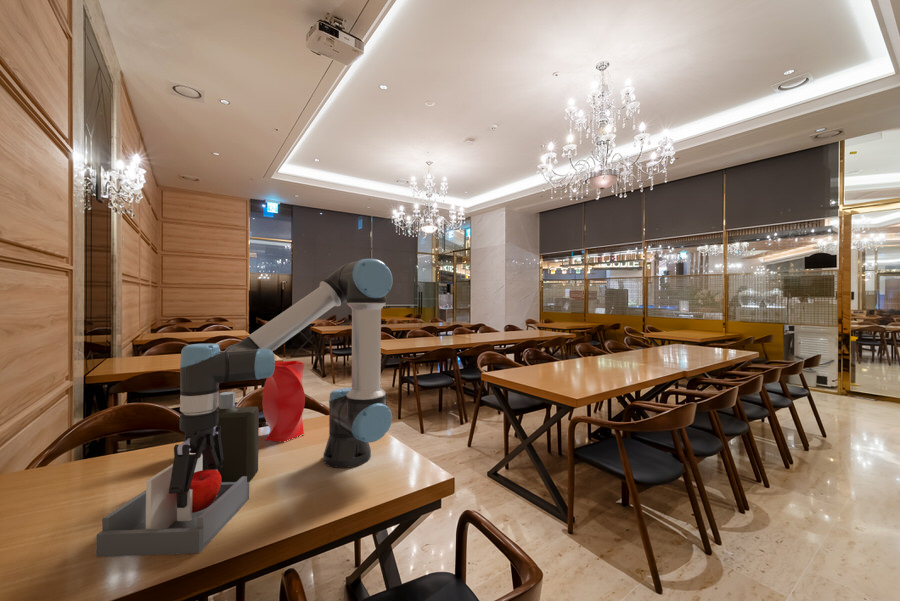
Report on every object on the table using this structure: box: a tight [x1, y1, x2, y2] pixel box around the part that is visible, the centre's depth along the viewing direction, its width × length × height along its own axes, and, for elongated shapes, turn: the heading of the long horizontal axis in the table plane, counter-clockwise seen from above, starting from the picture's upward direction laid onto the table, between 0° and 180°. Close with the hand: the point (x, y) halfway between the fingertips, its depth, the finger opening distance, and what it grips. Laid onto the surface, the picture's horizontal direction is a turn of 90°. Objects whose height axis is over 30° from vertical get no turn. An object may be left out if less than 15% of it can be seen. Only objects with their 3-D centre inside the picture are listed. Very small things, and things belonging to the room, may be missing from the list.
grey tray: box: [95, 476, 250, 557], centre depth 85 cm, size 20×21×7 cm
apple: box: [176, 470, 222, 513], centre depth 85 cm, size 9×9×8 cm
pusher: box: [145, 452, 203, 529], centre depth 85 cm, size 6×17×13 cm, turn 3°
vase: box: [261, 360, 306, 443], centre depth 142 cm, size 15×14×28 cm
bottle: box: [203, 391, 260, 483], centre depth 107 cm, size 8×16×25 cm, turn 100°
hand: (198, 507), depth 85 cm, fingers closed on apple, 9 cm apart
